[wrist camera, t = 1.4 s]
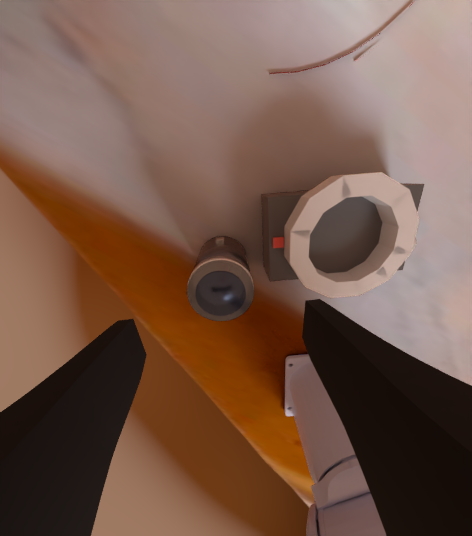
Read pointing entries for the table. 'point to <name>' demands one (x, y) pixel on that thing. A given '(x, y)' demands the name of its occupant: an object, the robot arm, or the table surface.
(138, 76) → the table surface
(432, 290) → the table surface
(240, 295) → the lens
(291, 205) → the camera body
